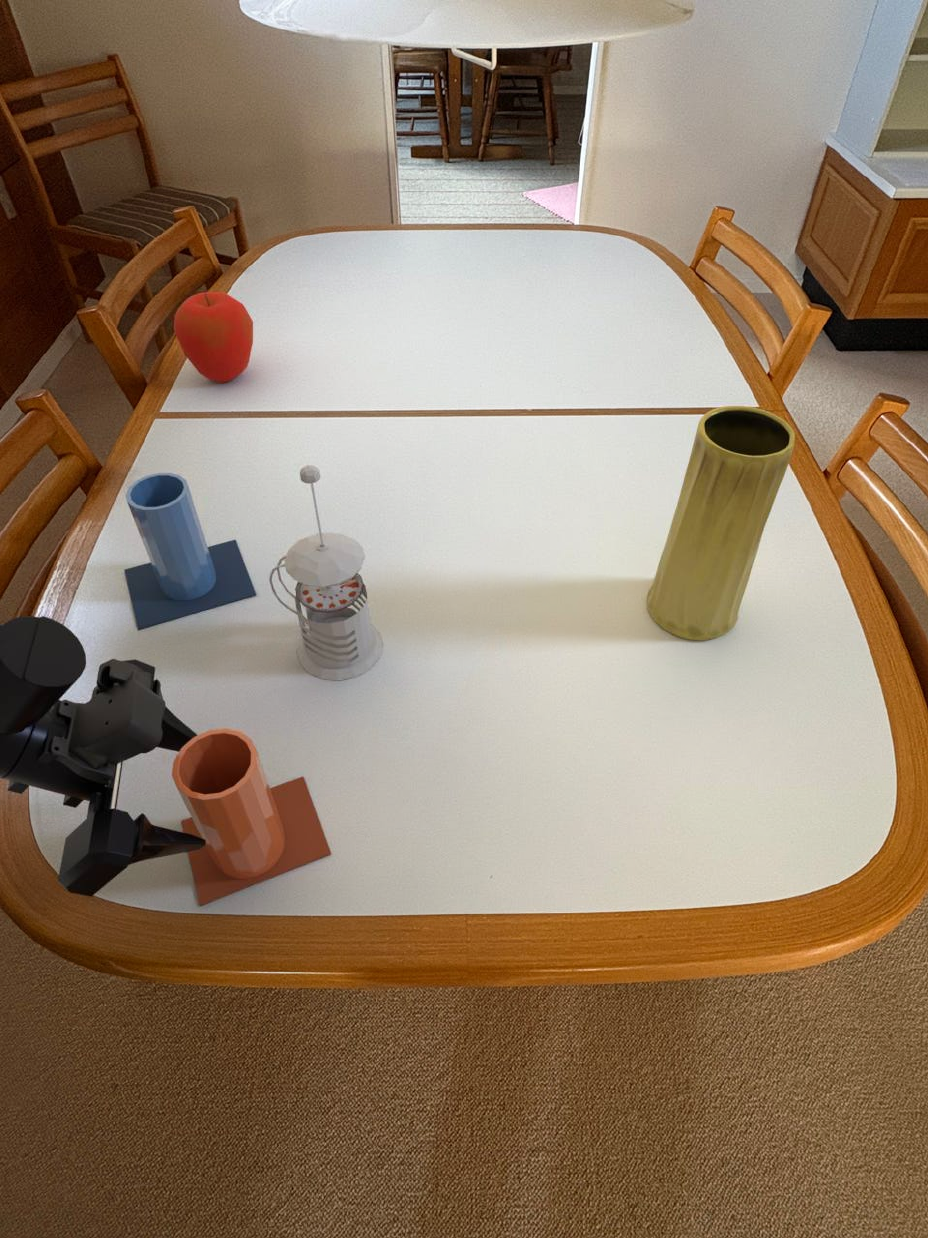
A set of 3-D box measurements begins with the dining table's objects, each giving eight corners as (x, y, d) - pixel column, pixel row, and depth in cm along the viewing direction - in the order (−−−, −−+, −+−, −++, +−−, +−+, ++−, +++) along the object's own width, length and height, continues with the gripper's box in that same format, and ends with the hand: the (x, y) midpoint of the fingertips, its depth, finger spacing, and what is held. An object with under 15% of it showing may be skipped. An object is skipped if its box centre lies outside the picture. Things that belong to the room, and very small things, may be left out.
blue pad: (138, 630, 92) (137, 628, 91) (124, 570, 98) (124, 569, 98) (256, 595, 95) (256, 594, 95) (235, 540, 102) (235, 539, 102)
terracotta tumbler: (200, 869, 71) (156, 788, 61) (232, 806, 76) (196, 721, 65) (267, 887, 70) (234, 807, 60) (296, 822, 75) (270, 737, 64)
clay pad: (200, 906, 69) (200, 905, 69) (181, 821, 75) (181, 820, 75) (331, 854, 73) (331, 853, 72) (303, 777, 78) (303, 776, 78)
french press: (362, 690, 86) (335, 510, 67) (266, 664, 88) (215, 484, 70) (395, 627, 92) (379, 447, 74) (306, 604, 94) (268, 425, 76)
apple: (270, 387, 128) (253, 302, 118) (195, 402, 125) (172, 316, 115) (253, 351, 136) (236, 269, 125) (183, 365, 133) (160, 282, 122)
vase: (755, 614, 93) (827, 436, 75) (695, 656, 89) (755, 477, 71) (687, 565, 99) (738, 388, 81) (627, 602, 95) (667, 424, 76)
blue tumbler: (166, 607, 94) (130, 516, 84) (157, 572, 98) (121, 481, 88) (221, 591, 96) (193, 500, 85) (210, 557, 100) (181, 466, 89)
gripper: (46, 800, 48) (261, 855, 57) (91, 588, 61) (262, 662, 70) (-33, 877, 53) (178, 916, 62) (24, 666, 65) (192, 725, 75)
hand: (206, 796), depth 67 cm, fingers open, 9 cm apart
